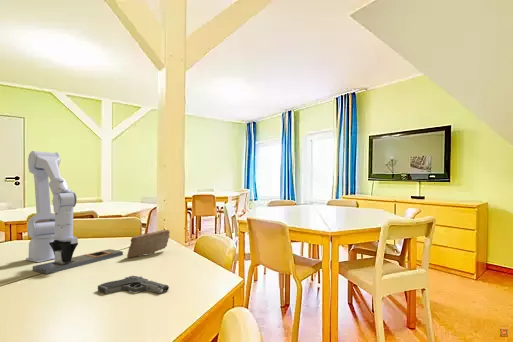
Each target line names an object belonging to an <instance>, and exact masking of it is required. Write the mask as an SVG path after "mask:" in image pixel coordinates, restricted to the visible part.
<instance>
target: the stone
mask: <svg viewBox="0 0 513 342" xmlns="http://www.w3.org/2000/svg"><path fill="white" fill-rule="evenodd" d="M169 239H170V229H161V230H157V231H156V230H155V231H152V232H148V233H143V234H139V235H135V236H132V237H131V239H130V242H131V243H130V246H129V247H128V251H127V255H126V258H127V259H129V258H134V257H139V256H144V255H153V254H155V253H156V252H158V251H161V250H163V249H164V250H165V249H166V247H167V246H168V242H169Z"/></svg>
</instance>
